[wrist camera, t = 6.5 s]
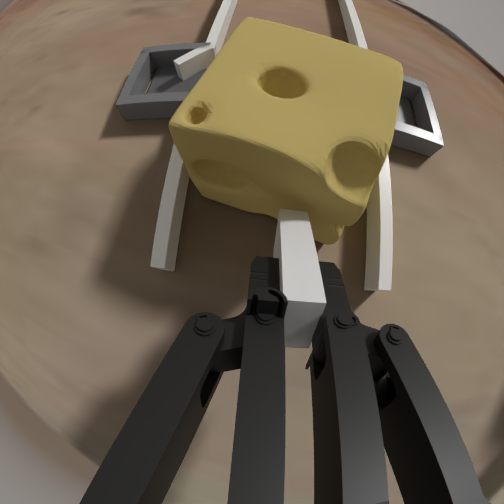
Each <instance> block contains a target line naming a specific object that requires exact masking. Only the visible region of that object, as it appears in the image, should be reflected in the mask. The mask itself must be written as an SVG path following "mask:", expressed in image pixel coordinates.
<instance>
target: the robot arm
mask: <svg viewBox="0 0 504 504" xmlns="http://www.w3.org/2000/svg"><path fill="white" fill-rule="evenodd" d="M311 342H312V348H313V351H312V353H311V355H310V357H309V359H308V362H307V364H306V368H305V369H308V368H309V366H310V372H311V388H312V407H313V431H314V504H389V499H388V484H387V472H386V461H385V452H384V448H385V450H386V453H387V456H388V458H389V461H390V464H391V466H392V469H393V472H394V475H395V477H396V480H397V483H398V486H399V489H400V492H401V495H402V497H403V500H404V503H405V504H491V503H490V502H489V501H488V500H487V499H486V498H485V497H484V496H483V493H482V489H481V486H480V483H479V481H478V478H477V475H476V472H475V469H474V467H473V464H472V462H471V459H470V456H469V454H468V451H467V449H466V447H465V444H464V442H463V440H462V437H461V435H460V433H459V430H458V428H457V426H456V424H455V422H454V419H453V417H452V415H451V413H450V411H449V409H448V407H447V405H446V403H445V401H444V399H443V397H442V395H441V393H440V391H439V389H438V387H437V385H436V383H435V381H434V379H433V378H432V376H431V374H430V372H429V370H428V368H427V367H426V365H425V363H424V361H423V359H422V358H421V356H420V354H419V352H418V351H417V349H416V347H415V346H414V344H413V342H412V340H411V339H410V337H409V335H408V334H407V333H406V331H405V330H404V329H403V328H401V327H400V326H398V325H395V324H386V325H384V326H383V327H382V328H381V329H380V330H377V329H374V328H371V327H367V326H365V325H363V324H361V323H360V321H359V319H358V317H357V316H356V315H355V314H354V313H353V312H351V311H350V307H349V303H348V299H347V295H346V291H345V287H344V284H343V280H342V276H341V273H340V270H339V269H338V268H337V266H336V265H335V264H334V263H330V262H319V261H318V257H317V252H316V247H315V243H314V238H313V234H312V229H311V225H310V220H309V216H308V212H305V211H297V210H288V209H279V215H278V222H277V229H276V236H275V243H274V249H273V258H270V257H260V256H257V257H256V258H255V259H254V260H253V262H252V263H251V272H250V282H249V292H248V300H247V307H246V309H245V310H244V312H243V313H241V314H240V315H238V316H236V317H233V318H229V319H223V320H221V319H220V317H218V316H216V315H214V314H212V313H206V312H205V313H198V314H196V315H194V316H192V317H191V318H190V319H189V320H188V321H187V322H186V324H185V325H184V327H183V328H182V330H181V332H180V333H179V335H178V337H177V338H176V340H175V341H174V343H173V345H172V346H171V348H170V350H169V351H168V353H167V354H166V356H165V358H164V359H163V361H162V363H161V364H160V366H159V368H158V369H157V371H156V373H155V374H154V376H153V377H152V379H151V381H150V382H149V384H148V386H147V387H146V389H145V391H144V392H143V394H142V396H141V397H140V399H139V401H138V402H137V404H136V406H135V408H134V409H133V411H132V413H131V414H130V416H129V418H128V419H127V421H126V423H125V424H124V426H123V428H122V430H121V431H120V433H119V435H118V436H117V438H116V440H115V442H114V443H113V445H112V447H111V449H110V450H109V452H108V454H107V455H106V457H105V459H104V461H103V462H102V464H101V466H100V468H99V469H98V471H97V473H96V475H95V477H94V478H93V480H92V482H91V484H90V485H89V487H88V489H87V491H86V493H85V495H84V496H83V498H82V500H81V502H80V504H162V502H163V500H164V498H165V496H166V494H167V492H168V490H169V487H170V485H171V483H172V481H173V479H174V477H175V475H176V473H177V471H178V469H179V467H180V465H181V463H182V461H183V459H184V457H185V454H186V452H187V450H188V448H189V446H190V444H191V442H192V440H193V438H194V435H195V433H196V431H197V429H198V427H199V425H200V423H201V420H202V418H203V416H204V414H205V412H206V410H207V407H208V405H209V403H210V401H211V399H212V396H213V394H214V392H215V390H216V388H217V385H218V383H219V381H220V379H221V377H222V374H223V372H225V371H230V370H235V369H241V372H240V382H239V392H238V402H237V412H236V423H235V433H234V443H233V453H232V463H231V473H230V483H229V493H228V503H227V504H284V474H285V347H294V348H309V346H310V344H311Z"/></svg>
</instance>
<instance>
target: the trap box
mask: <svg viewBox="0 0 504 504" xmlns="http://www.w3.org/2000/svg"><path fill="white" fill-rule="evenodd" d="M237 1H238V0H223V2H222V5H221V7H220V9H219V11H218V14H217V16H216V18H215V21H214V23H213V25H212V28H211V30H210V33H209V35H208V38H207V40H206V43H184V44H171V45H161V46H152V47H145V48H143V50H142V51H141V53H140V55H139V57H138V59H137V61H136V63H135V65H134V66H133V68H132V70H131V72H130V74H129V76H128V78H127V81H126V83H125V85H124V87H123V89H122V91H121V93H120V96H119V98H118V100H117V103H116V107H117V108H118V110H119V111H120V113H121V114H122V116H123V117H124V119H125V120H133V119H152V118H172V116H173V115H174V113H175V112H176V110H177V109H178V108H179V106H180V105H181V103H182V102H183V101H184V99H185V98H186V97H187V95H188V94H189V93H190V91H191V90H192V89H193V87H194V86H195V85H196V83H197V82H198V81H199V79H200V78H201V77H202V75H203V74H204V72H205V71H206V69H207V68H208V67H209V65H210V64H211V63H212V61H213V60H214V58H215V57H216V55H217V54H218V52H219V51H220V50H221V48H222V45H223V42H224V39H225V36H226V33H227V30H228V27H229V24H230V21H231V18H232V15H233V12H234V9H235V7H236V4H237ZM338 3H339V6H340V10H341V14H342V17H343V21H344V25H345V29H346V34H347V38H348V42H349V44H353V45H356V46H359V47H362V48H365V49H368V48H367V44H366V41H365V38H364V34H363V31H362V28H361V25H360V22H359V19H358V16H357V13H356V10H355V8H354V5H353V2H352V0H338ZM155 68H158V69H157V71H156V73H155V76H154V78H153V80H152V83H151V85H150V87H149V90H148V92H147V94H145V91H146V89H147V86H148V84H149V82H150V79H151V77H152V75H153V72H154V70H155ZM409 100H411V103H412V107H413V111H414V115H415V119H416V124H417V127H415V123H414V118H413V114H412V110H411V106H410V102H409ZM391 145H393V146H396V147H400V148H403V149H407V150H410V151H414V152H417V153H420V154H423V155H426V156H429V157H431V156H432V155H433V154H434V153H436V152H437V151H438V150H439V149H440V148H442V147H443V146H444V144H443V140H442V135H441V131H440V127H439V123H438V120H437V116H436V113H435V109H434V106H433V103H432V99H431V96H430V93H429V90H428V87H427V84H426V83H423V82H421V81H418V80H416V79H413V78H411V77H408V76H405V75H403V85H402V92H401V97H400V102H399V107H398V113H397V119H396V124H395V130H394V135H393V139H392V143H391ZM189 178H190V176H189V173H188V171H187V169H186V166H185V164H184V162H183V160H182V158H181V156H180V154H179V153H178V150H177V148H176V146H175V144H174V145H173V149H172V153H171V157H170V161H169V165H168V170H167V174H166V179H165V183H164V188H163V193H162V198H161V203H160V208H159V213H158V219H157V225H156V231H155V237H154V243H153V250H152V257H151V264H150V267H154V268H157V269H161V270H168V271H175V264H176V257H177V250H178V243H179V236H180V229H181V223H182V217H183V211H184V205H185V199H186V194H187V188H188V183H189ZM392 252H393V223H392V196H391V181H390V169H389V159H388V155H387V157H386V160H385V162H384V165H383V167H382V169H381V171H380V173H379V175H378V177H377V179H376V181H375V184H374V186H373V188H372V191H371V193H370V196H369V199H368V203H367V240H366V267H365V283H364V290H368V291H388V290H391V280H392Z"/></svg>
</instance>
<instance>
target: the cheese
mask: <svg viewBox="0 0 504 504" xmlns="http://www.w3.org/2000/svg"><path fill="white" fill-rule="evenodd" d="M402 85H403V69H402V65H401V63H400V62H398V61H396V60H394V59H392V58H389V57H387V56H385V55H382V54H380V53H377V52H374V51H371V50H368V49H365V48H362V47H359V46H356V45H353V44H349V43H346V42H343V41H340V40H337V39H334V38H331V37H327V36H324V35H321V34H317V33H314V32H310V31H306V30H303V29H299V28H296V27H292V26H288V25H284V24H280V23H275V22H271V21H267V20H262V19H257V18H252V17H247V18H245V19H244V20H243V21H242V22H241V23H240V24H239V25H238V27H237V28H236V29H235V30H234V31H233V32H232V34H231V35H230V37H229V38H228V39H227V41H226V42H225V44H224V45H223V47H222V48H221V50H220V51H219V52H218V54H217V55H216V57H215V58H214V60H213V61H212V63H211V64H210V65H209V67H208V68H207V70H206V71H205V72H204V74H203V75H202V77H201V78H200V79H199V81H198V82H197V83H196V85H195V86H194V87H193V89H192V90H191V91H190V93H189V94H188V95H187V97H186V98H185V99H184V101H183V102H182V103H181V105H180V106H179V108H178V109H177V110H176V112H175V113H174V115H173V116H172V118H171V120H170V121H169V125H168V127H169V130H170V133H171V136H172V139H173V141H174V144H175V146H176V148H177V150H178V153H179V154H180V156H181V158H182V160H183V162H184V164H185V166H186V169H187V171H188V173H189V176H190V178H191V180H192V181H193V183H194V185H195V186H196V188H197V189H198V190H199V192H200V193H201V195H202V196H204V197H206V198H209V199H211V200H214V201H217V202H220V203H223V204H226V205H229V206H232V207H235V208H238V209H241V210H244V211H248V212H251V213H262V214H266V215H269V216H272V217H274V218H276V219H277V220H278V215H279V209H288V210H297V211H305V212H308V216H309V220H310V225H311V229H312V234H313V238H314V240H316V241H318V242H320V243H322V244H327V245H330V244H333V243H335V242H336V241H337V240H339V238H340V236H341V234H342V232H343V229H344V227H345V226H352V225H353V224H354V223H356V222H357V221H358V220H359V219H360V217H361V216H362V214H363V213H364V211H365V209H366V206H367V203H368V199H369V196H370V193H371V191H372V188H373V186H374V184H375V181H376V179H377V177H378V175H379V173H380V171H381V169H382V167H383V165H384V162H385V160H386V157H387V155H388V152H389V150H390V147H391V143H392V139H393V135H394V130H395V124H396V119H397V113H398V107H399V102H400V97H401V92H402Z"/></svg>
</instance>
